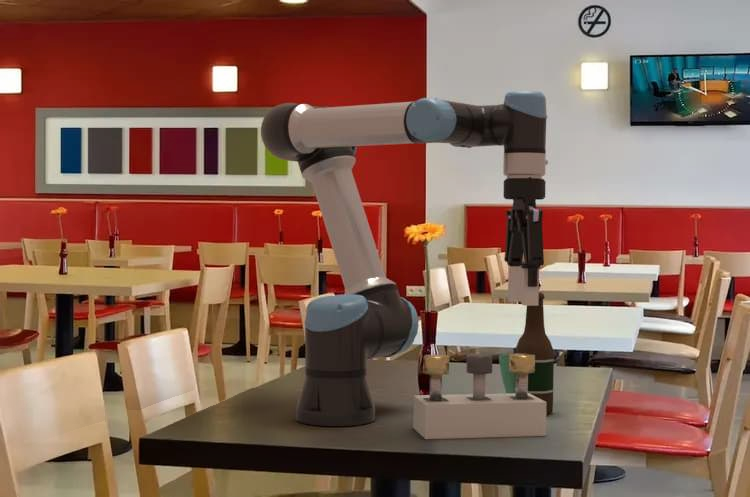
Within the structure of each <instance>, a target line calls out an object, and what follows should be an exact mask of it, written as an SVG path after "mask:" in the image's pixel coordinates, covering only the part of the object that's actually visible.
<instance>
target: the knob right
mask: <svg viewBox="0 0 750 497" xmlns="http://www.w3.org/2000/svg"><path fill="white" fill-rule="evenodd" d="M509 372H512V373H516V399H517V400H527V399H528V373H534V372H535V355H533V354H515V353H510V355H509Z"/></svg>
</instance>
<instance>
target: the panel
mask: <svg viewBox="0 0 750 497" xmlns="http://www.w3.org/2000/svg"><path fill="white" fill-rule="evenodd" d="M546 403H547V402H545V401H543V400H541V399H539V398H537V397H535V396H533V395H532V394H530V393H528V399H527V400H517V399H516V393H509V394H506V393H485V400H484V401H475V400H473V393H471V394H470V393H468V394H467V393H465V394H461V393H460V394H442V401H441V402H432V401H430V394H426V395H425V394H424V395H423V394H422V395H420V394H419V395H418V394H417V395H413V411H412V412H413V417H412V420H413V422H412V424H413V425H412V428H413V429H414V430H415V431H416V432H417V433H418V434H419V436H422V438H424V439H425V440H437V439H438V440H441V439H446V440H447V439H474V438H475V439H477V438H478V439H479V438H513V437H514V438H515V437H546V436H547V415H546Z"/></svg>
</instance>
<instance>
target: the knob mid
mask: <svg viewBox="0 0 750 497" xmlns="http://www.w3.org/2000/svg"><path fill="white" fill-rule="evenodd" d="M466 373H468V374H472V375H473V377H472V394H473V400H475V401H484V400H485V394H486V375H489V374H492V373H493V355H491V354H486V353H483V354H482V353H471V354H467V355H466Z"/></svg>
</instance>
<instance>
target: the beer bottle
mask: <svg viewBox="0 0 750 497" xmlns="http://www.w3.org/2000/svg"><path fill="white" fill-rule="evenodd" d="M544 299H545V294H544V293H543V292H540V291H539V300H538V306H526V311H525V324H524V331H523V333H522V335H521V336H520V338H519V339H518V341H517V344H516V347H515V353H514V354H533V355H535V372H534V373H528V393H530V394H532V395H533V396H535V397H537V398H539V399H541V400H543V401H545V402H547V403H546V416H550V414H551V415H552V414H553V412H554V410H553V408H554V371H555V370H554V368H555V366H554V365H555V364H554V362H555V360H554V348H553V346H552V345H553V344H552V342H551V341H550V339H549V337H548V336H547V334H546V329H545V315H544V313H545V312H544ZM515 393H516V373H515Z"/></svg>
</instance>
